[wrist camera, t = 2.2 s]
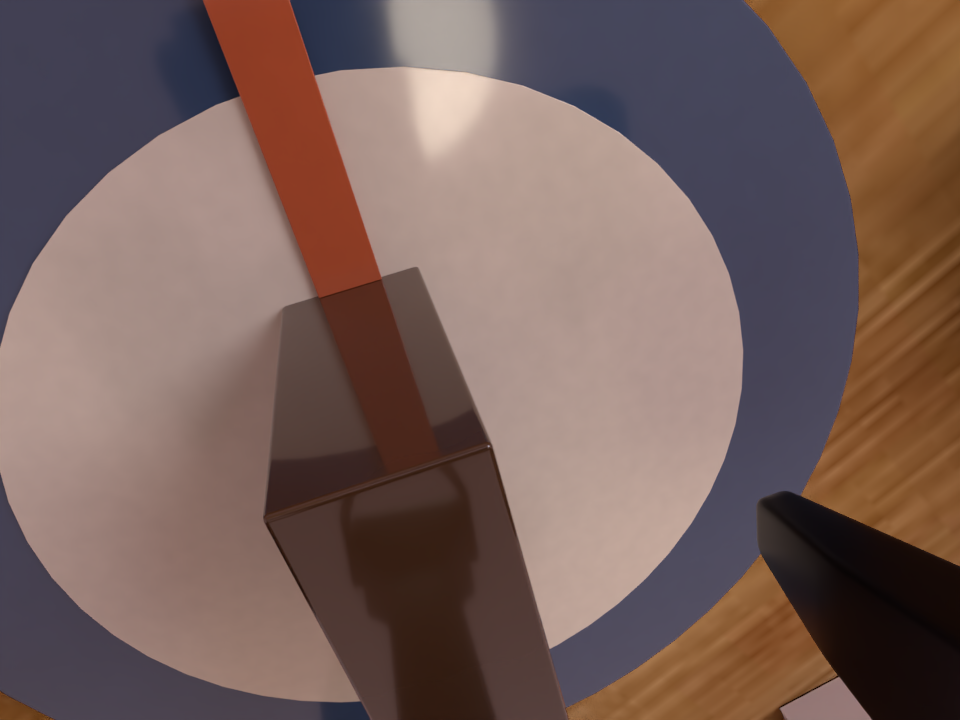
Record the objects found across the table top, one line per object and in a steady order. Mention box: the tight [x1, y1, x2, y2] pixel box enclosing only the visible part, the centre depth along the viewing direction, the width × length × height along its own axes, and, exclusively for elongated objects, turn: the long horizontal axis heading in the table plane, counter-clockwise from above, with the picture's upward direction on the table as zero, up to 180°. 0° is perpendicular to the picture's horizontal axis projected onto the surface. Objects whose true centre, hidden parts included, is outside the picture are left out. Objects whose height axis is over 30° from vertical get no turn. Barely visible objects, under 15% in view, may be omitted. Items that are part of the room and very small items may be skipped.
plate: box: [0, 0, 858, 720], centre depth 10 cm, size 18×18×6 cm
